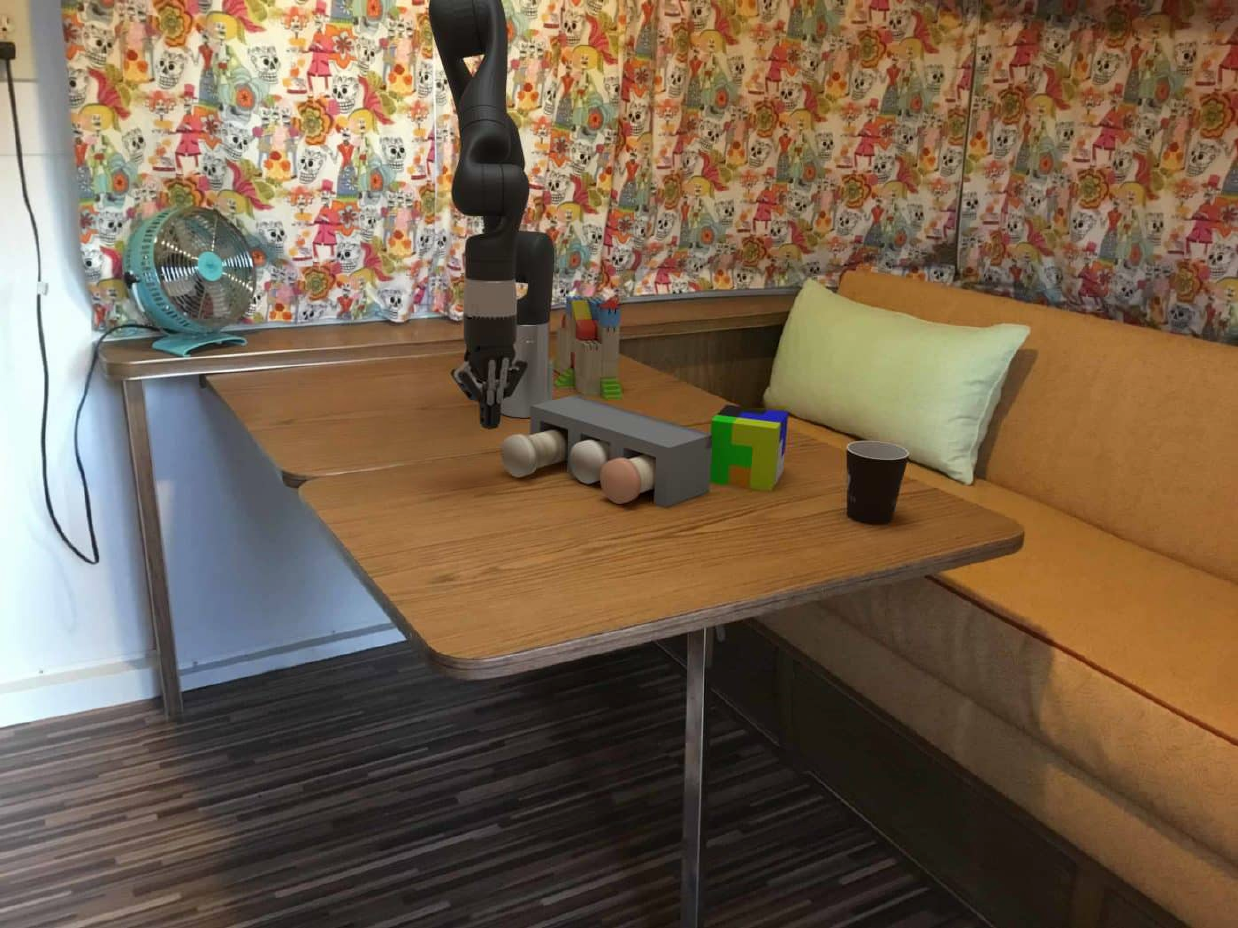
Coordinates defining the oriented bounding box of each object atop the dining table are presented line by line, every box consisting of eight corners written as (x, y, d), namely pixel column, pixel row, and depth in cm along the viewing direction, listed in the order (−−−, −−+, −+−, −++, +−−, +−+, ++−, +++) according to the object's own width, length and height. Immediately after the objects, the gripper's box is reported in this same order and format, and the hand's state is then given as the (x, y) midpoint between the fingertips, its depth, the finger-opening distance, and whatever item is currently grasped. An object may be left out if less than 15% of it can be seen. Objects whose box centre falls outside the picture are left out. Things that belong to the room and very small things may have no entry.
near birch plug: (548, 458, 165) (549, 420, 163) (576, 467, 161) (577, 428, 159) (501, 471, 158) (501, 431, 156) (528, 481, 154) (529, 441, 152)
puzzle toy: (782, 472, 164) (788, 412, 161) (771, 491, 155) (776, 428, 152) (722, 463, 167) (726, 404, 164) (707, 482, 158) (711, 420, 155)
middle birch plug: (614, 463, 164) (615, 425, 162) (644, 473, 160) (646, 434, 158) (569, 477, 157) (570, 437, 155) (599, 488, 153) (600, 447, 151)
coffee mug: (889, 532, 141) (898, 463, 138) (830, 518, 145) (837, 451, 142) (914, 508, 151) (923, 443, 147) (857, 495, 155) (865, 432, 152)
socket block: (573, 446, 173) (575, 395, 170) (708, 491, 154) (712, 434, 151) (529, 459, 166) (530, 405, 163) (665, 507, 147) (669, 447, 144)
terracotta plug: (645, 481, 156) (647, 441, 154) (677, 492, 152) (679, 451, 150) (599, 497, 149) (600, 455, 147) (631, 508, 145) (633, 466, 143)
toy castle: (536, 369, 225) (537, 281, 219) (597, 366, 230) (600, 280, 224) (572, 402, 200) (574, 304, 194) (640, 399, 204) (644, 302, 198)
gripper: (508, 302, 152) (507, 415, 157) (436, 310, 143) (437, 430, 148) (542, 309, 147) (540, 425, 152) (470, 318, 138) (470, 441, 143)
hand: (489, 427), depth 150 cm, fingers closed
